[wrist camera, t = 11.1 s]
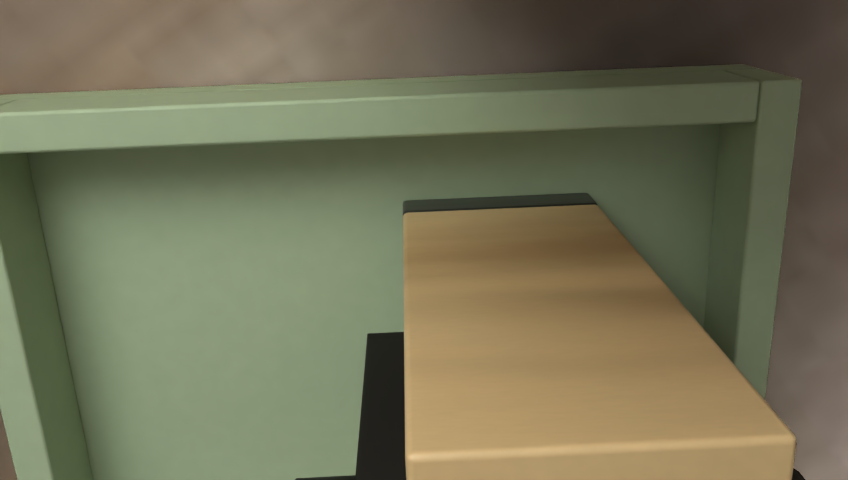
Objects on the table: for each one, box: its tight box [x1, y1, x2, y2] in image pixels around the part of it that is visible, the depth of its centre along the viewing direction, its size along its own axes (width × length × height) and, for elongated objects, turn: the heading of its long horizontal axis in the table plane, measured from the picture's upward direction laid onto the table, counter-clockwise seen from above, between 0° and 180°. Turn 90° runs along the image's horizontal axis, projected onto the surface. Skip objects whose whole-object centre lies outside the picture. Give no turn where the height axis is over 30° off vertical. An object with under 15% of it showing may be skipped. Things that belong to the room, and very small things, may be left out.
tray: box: [0, 64, 802, 480], centre depth 16 cm, size 14×11×2 cm
